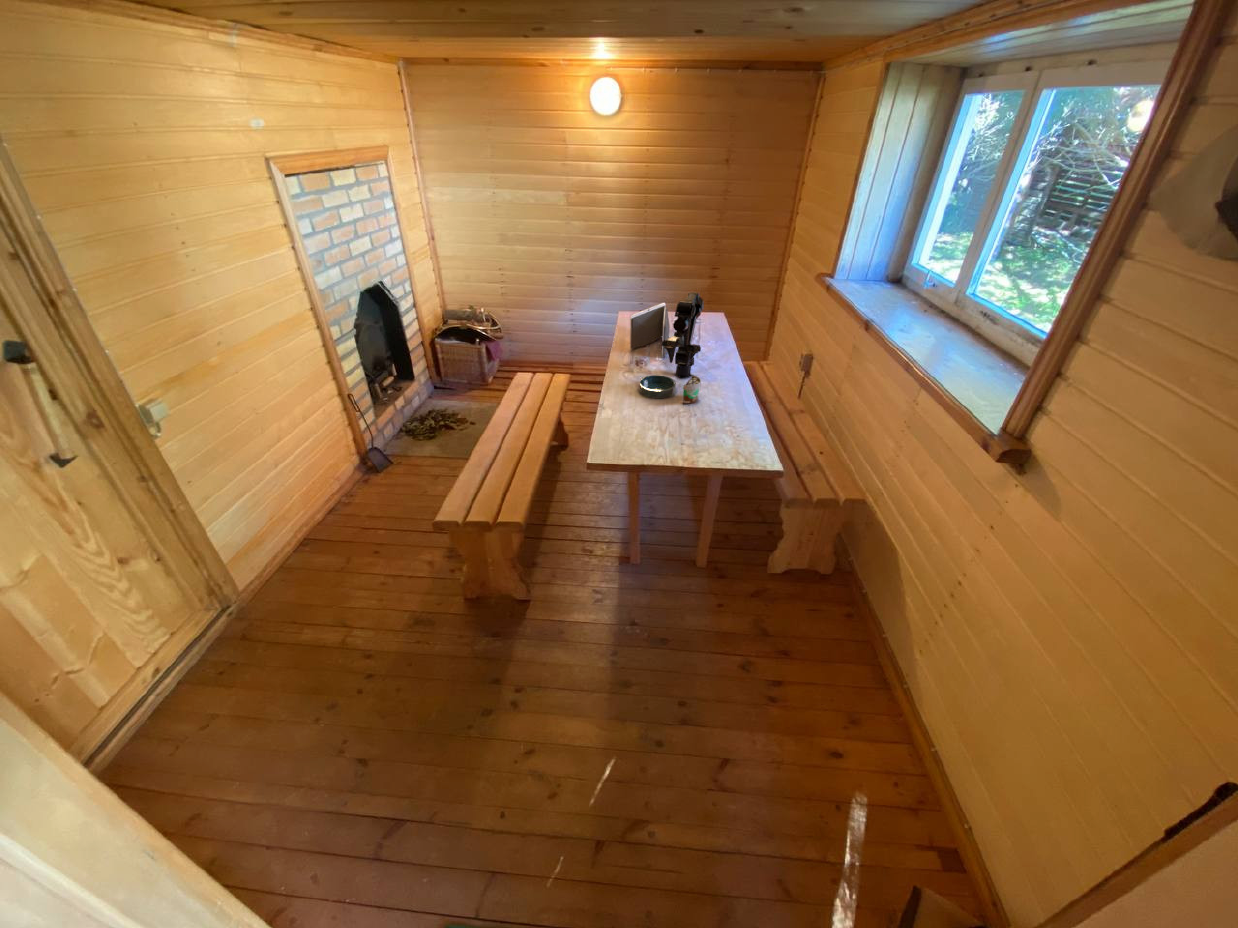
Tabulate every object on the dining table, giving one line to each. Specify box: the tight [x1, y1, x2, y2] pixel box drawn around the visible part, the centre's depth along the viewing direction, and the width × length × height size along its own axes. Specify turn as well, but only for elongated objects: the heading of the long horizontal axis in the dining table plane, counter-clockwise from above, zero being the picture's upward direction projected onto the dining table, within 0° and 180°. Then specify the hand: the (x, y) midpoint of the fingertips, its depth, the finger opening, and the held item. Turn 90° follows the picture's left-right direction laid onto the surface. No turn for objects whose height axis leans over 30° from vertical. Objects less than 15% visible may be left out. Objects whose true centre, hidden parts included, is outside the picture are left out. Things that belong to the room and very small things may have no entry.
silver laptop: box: [629, 302, 671, 358], centre depth 282 cm, size 35×22×20 cm, turn 176°
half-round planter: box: [682, 374, 702, 405], centre depth 230 cm, size 12×6×10 cm, turn 155°
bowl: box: [638, 374, 677, 399], centre depth 240 cm, size 17×17×4 cm
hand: (678, 364), depth 237 cm, fingers open, 9 cm apart
